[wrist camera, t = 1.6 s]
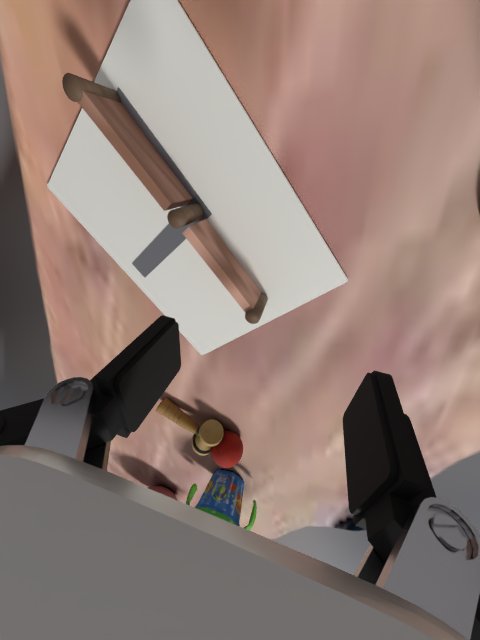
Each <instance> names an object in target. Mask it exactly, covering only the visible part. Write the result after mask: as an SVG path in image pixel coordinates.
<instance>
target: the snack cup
mask: <svg viewBox="0 0 480 640" xmlns="http://www.w3.org/2000/svg"><path fill="white" fill-rule="evenodd" d="M243 489H244V481H242V479H241V478H240V477H239V476H237V475H236V474H235V473H234V472H230V471H226V470H220V469H218V470H217V471H216V472H215V473H214V474H213V475H212V477H211V479H210V481H209V483H208V485H207V487H206V489H205V491H204V493H203V495H202V497H201V499H200V501H199V503H198V504H197V505H196V507H195V508H196V509H199V510H201V511H204V512H206V513H208V514H211V515H213V516H215V517H218V518H220V519H223V520H225V521H227V522H230V523H232V524H235V525H237V526H239V519H240V513H241V506H242V497H243ZM196 490H197V485H196V484H193V485H192V487H191V489H190V491H189V494H188V497H187V501H186V504H187V505H190V501H191V500H192V498H193V496H194V494H195V492H196ZM253 502H254V506H253V509H252V513H251V517H250V521H249V524H248V525H247V526H246V527H244V529H246V530H249V531H250V529H251V528H252V526H253V524H254V521H255V518H256V501H255V500H254V501H253Z"/></svg>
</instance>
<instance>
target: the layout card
mask: <svg viewBox="0 0 480 640" xmlns="http://www.w3.org/2000/svg"><path fill="white" fill-rule="evenodd" d="M94 83H97V84H100V85H102V86H105V87H108V88H111V89H113V90H115V91H116V92H117V93H118V94H119V96H120V98H121V103H122V104H123V106H124V107H125V108H126V110H127V111H128V112H129V114H130V115H131V116H132V118H133V119H134V120H135V122H136V123H137V124H138V126H139V127H140V128H141V130H142V131H143V133H144V134H145V135H146V137H147V138H148V139H149V141H150V142H151V143H152V145H153V146H154V147H155V149H156V150H157V151H158V153H159V154H160V155H161V157H162V158H163V159H164V161H165V162H166V163H167V165H168V166H169V167H170V169H171V170H172V171H173V173H174V174H175V175H176V177H177V178H178V180H179V181H180V182H181V184H182V185H183V186H184V188H185V189H186V190H187V192H188V193H189V194H190V196H191V197H192V198H193V199H192V200H191V201H190V202H189V203H188V204H187V205H191V204H195V203H198V204H200V205H201V206H202V207H203V210H204V216H203V218H202V219H200V220H197V221H195V222H193V223H190V224H188V225H185V226H183V227H181V228H173V227H172V226H171V225H170V224H169V222H168V219H167V216H168V213H169V211H171V210H173V209H177V208H180V207H177V208H173V209H170V210H166V211H164V210H163V209H162V208H161V206H160V205H159V204H158V203H157V201H156V200H155V199H154V198H153V196H152V195H151V194H150V192H149V191H148V190H147V189H146V187H145V186H144V185H143V184H142V182H141V181H140V180H139V179H138V177H137V176H136V175H135V174H134V172H133V171H132V170H131V169H130V167H129V166H128V165H127V163H126V162H125V161H124V160H123V158H122V157H121V156H120V155H119V153H118V152H117V151H116V150H115V148H114V147H113V146H112V145H111V143H110V142H109V141H108V140H107V138H106V137H105V136H104V135H103V133H102V132H101V131H100V129H99V128H98V127H97V126H96V124H95V123H94V122H93V121H92V119H91V118H90V117H89V116H88V114H87V113H86V112H85V111H84V109H83V108H82V110H81V112H80V114H79V116H78V119H77V121H76V123H75V125H74V127H73V130H72V132H71V134H70V136H69V139H68V141H67V143H66V145H65V147H64V150H63V152H62V154H61V156H60V159H59V161H58V163H57V165H56V168H55V170H54V172H53V174H52V176H51V179H50V181H49V183H48V185H47V187H48V188H49V189H50V190H51V191H52V193H53V194H54V195H55V196H56V197H57V198H58V199H59V200H60V201H61V202H62V203H63V205H64V206H65V207H66V208H67V209H68V210H69V211H70V212H71V213H72V214H73V215H74V217H75V218H76V219H77V220H78V221H79V222H80V223H81V224H82V225H83V226H84V227H85V229H86V230H87V231H88V232H89V233H90V234H91V235H92V236H93V237H94V238H95V239H96V241H97V242H98V243H99V244H100V245H101V246H102V247H103V248H104V249H105V250H106V251H107V253H108V254H109V255H110V256H111V257H112V258H113V259H114V260H115V261H116V262H117V263H118V265H119V266H120V267H121V268H122V269H123V270H124V271H125V272H126V273H127V274H128V275H129V277H130V278H131V279H132V280H133V281H134V282H135V283H136V284H137V285H138V286H139V287H140V289H141V290H142V291H143V292H144V293H145V294H146V295H147V296H148V297H149V298H150V300H151V301H152V302H153V303H154V304H155V305H156V306H157V307H158V308H159V309H160V310H161V312H162V313H163V314H164V315H165V316H167V317H171V318H174V319H175V320H176V322H177V323H178V325H179V331H180V332H181V333H182V334H183V336H184V337H185V338H186V339H187V340H188V341H189V342H190V343H191V344H192V345H193V346H194V348H195V349H196V350H197V351H198V352H199V353H200V354H201V355H204V354H206V353H208V352H210V351H212V350H214V349H216V348H218V347H220V346H222V345H224V344H226V343H228V342H230V341H232V340H234V339H236V338H238V337H240V336H242V335H243V334H245V333H247V332H249V331H251V330H253V329H255V328H257V327H259V326H261V325H263V324H265V323H267V322H269V321H271V320H273V319H275V318H277V317H279V316H281V315H283V314H285V313H287V312H289V311H291V310H293V309H295V308H297V307H298V306H300V305H302V304H304V303H306V302H308V301H310V300H312V299H314V298H316V297H318V296H320V295H322V294H324V293H326V292H328V291H330V290H332V289H334V288H336V287H338V286H340V285H342V284H344V283H346V282H348V281H349V280H348V278H347V277H346V275H345V273H344V272H343V270H342V268H341V267H340V265H339V263H338V262H337V260H336V259H335V257H334V255H333V254H332V252H331V250H330V249H329V247H328V245H327V244H326V242H325V240H324V239H323V237H322V236H321V234H320V232H319V231H318V229H317V227H316V226H315V224H314V222H313V221H312V219H311V218H310V216H309V214H308V213H307V211H306V209H305V208H304V206H303V204H302V203H301V201H300V199H299V198H298V196H297V195H296V193H295V191H294V190H293V188H292V186H291V185H290V183H289V181H288V180H287V178H286V177H285V175H284V173H283V172H282V170H281V168H280V167H279V165H278V163H277V162H276V160H275V158H274V157H273V155H272V154H271V152H270V150H269V149H268V147H267V145H266V144H265V142H264V140H263V139H262V137H261V136H260V134H259V132H258V131H257V129H256V127H255V126H254V124H253V122H252V121H251V119H250V117H249V116H248V114H247V113H246V111H245V109H244V108H243V106H242V104H241V103H240V101H239V99H238V98H237V96H236V95H235V93H234V91H233V90H232V88H231V86H230V85H229V83H228V81H227V80H226V78H225V76H224V75H223V73H222V72H221V70H220V68H219V67H218V65H217V63H216V62H215V60H214V58H213V57H212V55H211V54H210V52H209V50H208V49H207V47H206V45H205V44H204V42H203V40H202V39H201V37H200V35H199V34H198V32H197V31H196V29H195V27H194V26H193V24H192V22H191V21H190V19H189V17H188V16H187V14H186V12H185V11H184V9H183V8H182V6H181V4H180V3H179V1H178V0H130V3H129V5H128V7H127V9H126V12H125V14H124V16H123V18H122V20H121V23H120V25H119V27H118V29H117V32H116V34H115V36H114V38H113V41H112V43H111V45H110V47H109V49H108V52H107V54H106V56H105V58H104V61H103V63H102V65H101V67H100V69H99V72H98V74H97V76H96V78H95V81H94ZM187 205H184V206H187ZM184 206H181V207H184ZM205 219H207V221H208V222H209V223H210V225H211V226H212V227H213V229H214V230H215V231H216V233H217V234H218V235H219V237H220V238H221V239H222V241H223V242H224V243H225V245H226V246H227V248H228V249H229V250H230V252H231V253H232V254H233V256H234V257H235V258H236V260H237V261H238V262H239V264H240V265H241V266H242V268H243V269H244V270H245V272H246V273H247V274H248V276H249V277H250V278H251V280H252V281H253V282H254V284H255V285H256V286H257V288H258V289H259V290H260V292H262V293H265V294H266V295H267V297H268V301H267V303H266V306H265V308H264V311H263V313H262V316H261V318H260V320H259V322H258V323H256V324H251V323H249V322H247V321H246V319H245V314H246V313H245V312H244V310H243V309H242V308H241V307H240V305H239V304H238V303H237V302H236V300H235V299H234V298H233V297H232V295H231V294H230V293H229V292H228V290H227V289H226V288H225V287H224V285H223V284H222V283H221V282H220V280H219V279H218V278H217V276H216V275H215V274H214V273H213V271H212V270H211V269H210V268H209V266H208V265H207V264H206V263H205V261H204V260H203V259H202V258H201V256H200V255H199V254H198V253H197V251H196V250H195V249H194V247H193V246H192V245H191V244H190V242H189V241H188V240H187V239H186V237H185V236H184V235H183V234H182V233H183V232H184V231H185V230H186V229H187V228H188V227H189V226H191V225H194V224H196V223H198V222H200V221H203V220H205Z"/></svg>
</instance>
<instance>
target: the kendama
mask: <svg viewBox="0 0 480 640" xmlns="http://www.w3.org/2000/svg"><path fill="white" fill-rule="evenodd" d="M156 412H158V413H160V414H161V415H164V416H165V417H166V418H168V419H170V420H172V421H173V422H174V423H176V424H178V425H179V426H181V427H183V428H184V429H186V430H188V431H190V432H192V433H194V435H193V437H192V441H191V444H192V448H193V450H194V451H195V453H197V454H198V455H202V456H203V455H207V454H209V453H211V455H212V458H213V460H214V461H215V463H216V464H217V465H219V466H220V467H223V468H230V467H233V466H235V465H236V464H237V463H238V462H239V461H240V459H241V457H242V453H243V444H242V441H241V439H240V438H239V436H238V435H237V434H235V433H233V432H230V431H223V427H222V425H221V424H220V423H219V422H218V421H216V420H213V419H210V420H207V421H205V422H204V423H203V424H202V425H201V427H200V426H199V425H198V424H197V423H196V422H195V421H194V420H193V419H192V418H190V417H189V416H188V415H187V414H186V413H184V412H183V411H182V410H181V409H179V408H178V407H177V406H176V405H175V404H173V403H172V402H171V401H170V400H169V399H167V398H165V399H163V401H162V402H161V403H160V404H159V406H158V407H157V409H156Z"/></svg>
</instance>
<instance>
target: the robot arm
mask: <svg viewBox="0 0 480 640" xmlns="http://www.w3.org/2000/svg"><path fill="white" fill-rule="evenodd" d="M180 367H181V356H180V340H179V325H178V323H177V322H176V320H175V319H174V318H171V317H167V316H160V317H159V318H158V319H157V320H156V321H155V322H154V323H153V324H152V325H150V326H149V327H148V328H147V329H146V330H145V331H144V332H143V333H142V334H141V335H139V336H138V337H137V338H136V339H135V340H134V341H133V342H132V343H131V344H130V345H128V346H127V347H126V348H125V349H124V350H123V351H122V352H121V353H120V354H119V355H117V356H116V357H115V358H114V359H113V360H112V361H111V362H110V363H109V364H108V365H106V366H105V367H104V368H103V369H102V370H101V371H100V372H99V373H98V374H97V375H95V376H94V377H93V378H92V379H91V380H88V379H87V378H83V377H74V378H70V379H67V380H64V381H62V382H60V383H58V384H57V385H55V386H54V387H53V388H51V390H49V392H48V393H47V395H46V396H45V398H44V399H41V400H37V401H34V402H30V403H26V404H23V405H19V406H16V407H12V408H8V409H5V410H1V411H0V640H480V535H479V533H478V531H477V529H476V528H475V526H474V525H473V524H472V523H471V521H470V520H469V519H468V518H467V517H466V516H465V515H464V514H463V513H462V512H461V511H460V510H459V509H458V508H456V507H455V506H453V505H452V504H450V503H449V502H447V501H444V500H442V499H440V498H436V495H435V492H434V489H433V486H432V483H431V480H430V477H429V474H428V471H427V468H426V465H425V462H424V459H423V456H422V453H421V450H420V447H419V444H418V441H417V438H416V435H415V432H414V429H413V427H412V424H411V421H410V419H409V417H408V416H407V415H406V414H404V413H403V410H402V406H401V403H400V400H399V397H398V394H397V391H396V388H395V385H394V381H393V378H392V376H391V375H389V374H385V373H382V372H378V371H373V372H372V373H367V374H366V376H365V378H364V379H363V381H362V383H361V385H360V386H359V388H358V390H357V392H356V393H355V395H354V397H353V399H352V401H351V402H350V404H349V406H348V408H347V409H346V411H345V413H344V416H343V431H344V445H345V459H346V473H347V487H348V501H349V510H350V513H351V514H354V517H355V525H356V526H358V527H361V528H363V529H366V530H367V537H368V541H369V542H370V543H371V544H370V546H369V548H368V550H367V552H366V553H365V555H364V557H363V559H362V561H361V563H360V564H359V566H358V568H357V570H356V572H355V574H354V575H351V574H349V573H347V572H345V571H342V570H340V569H338V568H336V567H333V566H331V565H329V564H327V563H324V562H322V561H319V560H317V559H315V558H312V557H310V556H307V555H305V554H303V553H301V552H298V551H296V550H294V549H291V548H289V547H286V546H284V545H282V544H279V543H277V542H275V541H272V540H270V539H268V538H265V537H263V536H261V535H258V534H256V533H254V532H251V531H249V530H246V529H244V528H242V527H239V526H237V525H235V524H232V523H230V522H227V521H225V520H223V519H220V518H218V517H215V516H213V515H211V514H208V513H206V512H204V511H201V510H199V509H196V508H194V507H192V506H189V505H187V504H184V503H182V502H180V501H177V500H175V499H173V498H170V497H168V496H165V495H163V494H161V493H158V492H156V491H153V490H151V489H148V488H146V487H144V486H141V485H139V484H136V483H134V482H131V481H129V480H127V479H124V478H122V477H119V476H117V475H115V474H112V473H110V472H107V465H108V458H109V451H110V443H111V440H113V438H114V437H115V436H116V434H117V435H120V436H122V437H125V438H127V437H128V436H129V435H130V433H131V432H135V431H136V430H137V429H138V427H139V426H140V425H141V423H142V422H143V420H144V419H145V418H146V416H147V415H148V413H149V412H150V411H151V409H152V408H153V406H154V405H155V404H156V402H157V401H158V399H159V398H160V397H161V395H162V394H163V392H164V391H165V390H166V388H167V387H168V386H169V384H170V383H171V381H172V380H173V379H174V377H175V376H176V374H177V373H178V371H179V370H180Z"/></svg>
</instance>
